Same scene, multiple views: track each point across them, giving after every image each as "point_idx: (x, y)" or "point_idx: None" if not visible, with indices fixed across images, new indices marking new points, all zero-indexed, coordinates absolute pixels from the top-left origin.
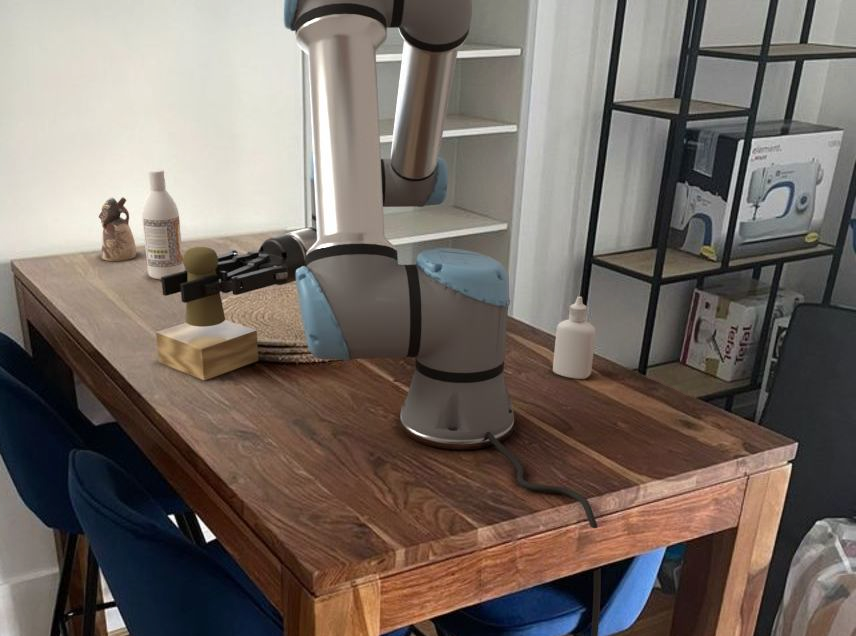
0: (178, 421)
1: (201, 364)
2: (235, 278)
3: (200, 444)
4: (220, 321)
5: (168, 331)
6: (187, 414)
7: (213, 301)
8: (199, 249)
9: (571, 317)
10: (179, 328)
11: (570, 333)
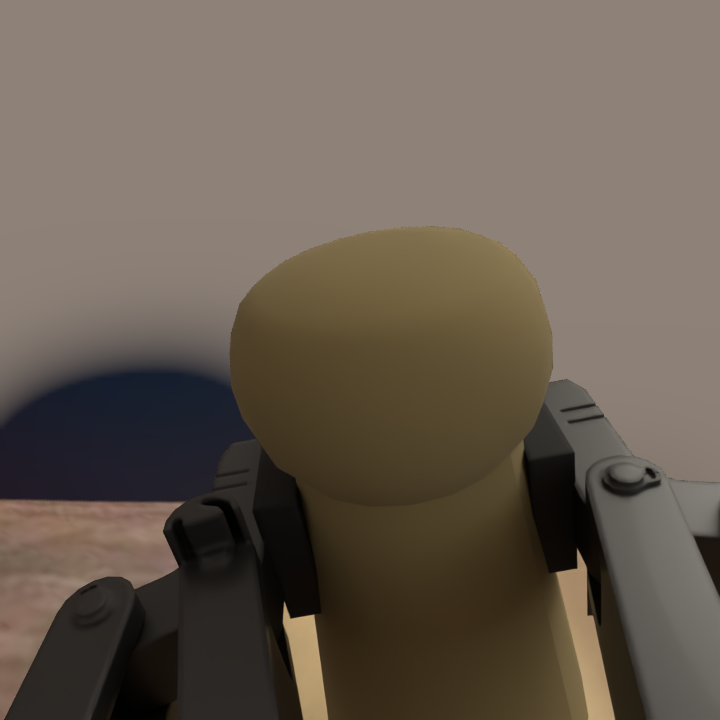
0: (136, 518)
1: None
2: (78, 593)
3: (13, 514)
4: None
5: (563, 576)
6: (143, 546)
7: None
8: (352, 251)
9: None
10: (581, 631)
11: None
